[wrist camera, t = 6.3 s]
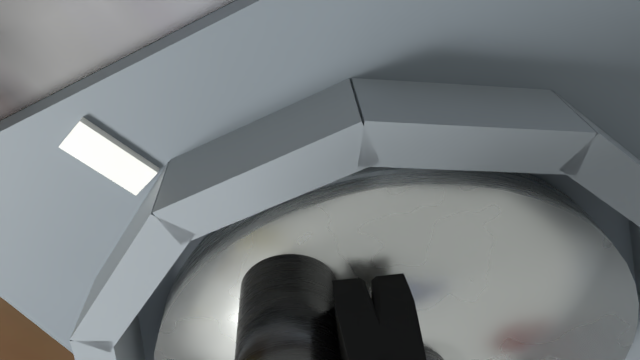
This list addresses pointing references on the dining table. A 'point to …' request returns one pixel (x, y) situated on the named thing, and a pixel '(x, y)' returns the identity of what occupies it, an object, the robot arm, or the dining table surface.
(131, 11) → the dining table surface
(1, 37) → the dining table surface
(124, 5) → the dining table surface
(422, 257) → the dial
